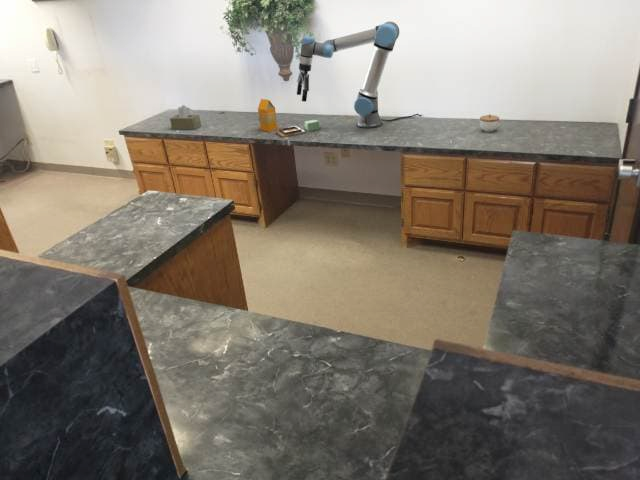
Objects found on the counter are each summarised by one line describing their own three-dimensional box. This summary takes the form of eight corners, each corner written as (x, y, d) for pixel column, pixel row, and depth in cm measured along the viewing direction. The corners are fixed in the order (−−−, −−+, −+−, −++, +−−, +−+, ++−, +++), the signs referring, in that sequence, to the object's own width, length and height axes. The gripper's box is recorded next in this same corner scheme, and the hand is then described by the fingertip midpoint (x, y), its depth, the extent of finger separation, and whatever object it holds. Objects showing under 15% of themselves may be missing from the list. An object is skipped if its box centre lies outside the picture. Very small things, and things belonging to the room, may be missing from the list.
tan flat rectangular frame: (298, 128, 338) (298, 124, 337) (305, 132, 328) (305, 128, 327) (275, 133, 333) (275, 129, 332) (282, 137, 323) (281, 133, 322)
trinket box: (488, 134, 295) (489, 118, 291) (475, 130, 304) (476, 114, 299) (502, 130, 299) (503, 114, 295) (488, 126, 308) (490, 111, 304)
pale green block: (316, 126, 338) (315, 119, 336) (319, 128, 333) (319, 121, 331) (304, 129, 336) (304, 121, 333) (308, 131, 331) (307, 123, 328)
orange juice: (269, 127, 347) (265, 97, 337) (277, 129, 341) (274, 98, 332) (260, 130, 342) (256, 100, 333) (268, 132, 336) (264, 101, 327)
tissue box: (201, 125, 364) (197, 103, 357) (194, 129, 356) (190, 107, 349) (178, 125, 370) (174, 103, 363) (171, 129, 362) (166, 107, 354)
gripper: (294, 58, 320) (291, 91, 331) (304, 68, 300) (300, 103, 311) (306, 59, 322) (302, 92, 333) (316, 69, 302) (312, 104, 313)
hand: (301, 97), depth 322 cm, fingers open, 13 cm apart
